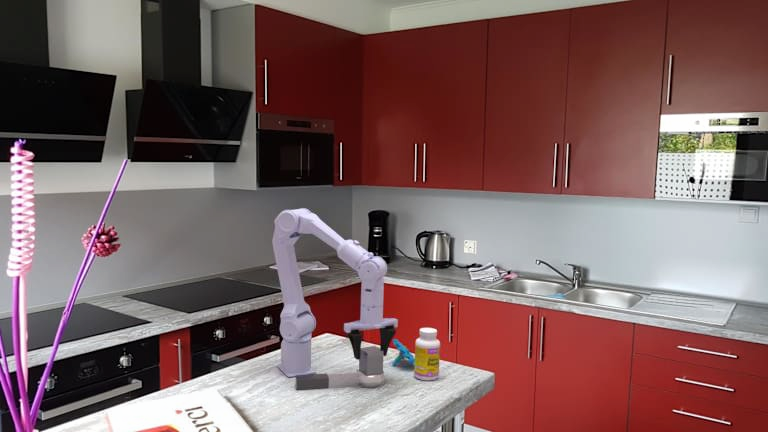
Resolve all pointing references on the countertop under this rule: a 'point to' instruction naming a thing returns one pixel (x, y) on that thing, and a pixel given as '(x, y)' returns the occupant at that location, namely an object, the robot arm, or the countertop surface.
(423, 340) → the supplement bottle
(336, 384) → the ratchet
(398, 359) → the blue branched piece
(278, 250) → the robot arm
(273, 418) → the countertop surface
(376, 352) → the brushed metal cube
